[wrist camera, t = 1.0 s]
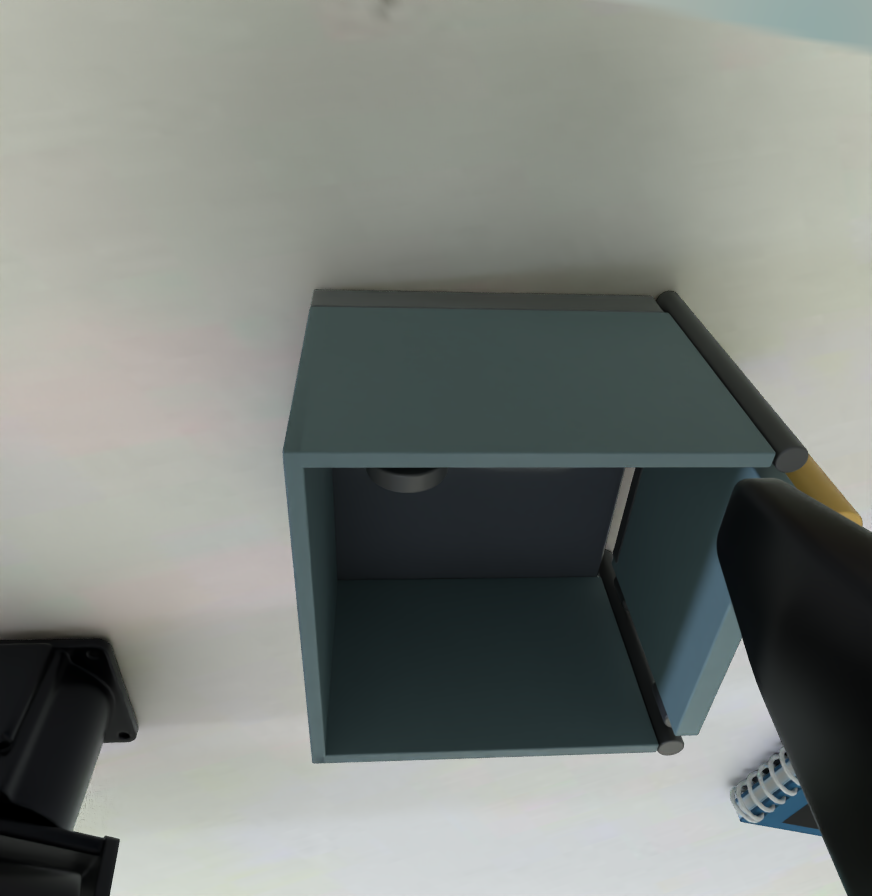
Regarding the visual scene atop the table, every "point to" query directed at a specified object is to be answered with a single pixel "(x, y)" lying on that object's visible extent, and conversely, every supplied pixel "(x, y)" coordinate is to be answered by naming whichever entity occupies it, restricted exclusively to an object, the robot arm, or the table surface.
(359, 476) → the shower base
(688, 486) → the door panel with handle
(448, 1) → the table surface
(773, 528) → the robot arm
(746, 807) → the sketchbook
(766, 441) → the hinged door cabinet
